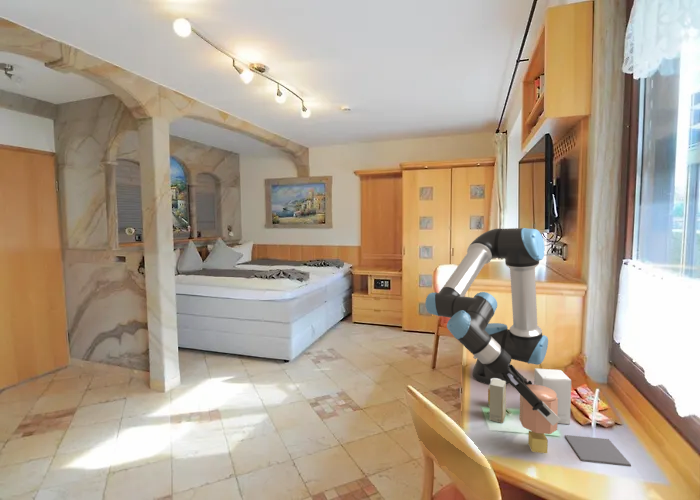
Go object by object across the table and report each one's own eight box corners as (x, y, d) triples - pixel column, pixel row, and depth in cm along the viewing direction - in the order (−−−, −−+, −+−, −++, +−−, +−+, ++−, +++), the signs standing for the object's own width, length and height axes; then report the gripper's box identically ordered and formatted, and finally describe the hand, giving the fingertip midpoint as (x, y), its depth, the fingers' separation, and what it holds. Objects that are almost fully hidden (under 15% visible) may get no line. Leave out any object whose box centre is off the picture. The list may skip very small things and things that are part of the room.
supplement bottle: (487, 408, 129) (488, 382, 129) (488, 402, 134) (488, 376, 134) (504, 411, 127) (504, 384, 127) (504, 404, 132) (504, 378, 132)
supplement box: (571, 425, 118) (572, 380, 117) (541, 422, 120) (542, 378, 119) (560, 411, 127) (561, 369, 126) (533, 409, 129) (534, 367, 128)
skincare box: (502, 423, 119) (503, 387, 118) (488, 420, 122) (489, 384, 121) (506, 415, 124) (506, 380, 124) (492, 412, 127) (492, 378, 126)
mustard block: (528, 443, 108) (528, 430, 108) (542, 445, 107) (543, 432, 107) (532, 452, 104) (532, 438, 104) (547, 453, 103) (547, 440, 103)
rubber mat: (564, 436, 112) (564, 434, 112) (608, 440, 109) (608, 439, 109) (581, 460, 100) (581, 459, 100) (630, 466, 98) (631, 464, 97)
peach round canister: (517, 415, 111) (517, 383, 110) (549, 418, 109) (550, 385, 108) (525, 431, 102) (526, 397, 101) (560, 435, 100) (561, 399, 99)
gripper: (477, 351, 118) (529, 402, 116) (489, 379, 97) (553, 443, 94) (494, 336, 116) (547, 388, 114) (510, 361, 95) (576, 425, 93)
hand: (550, 412), depth 104 cm, fingers closed on peach round canister, 9 cm apart
